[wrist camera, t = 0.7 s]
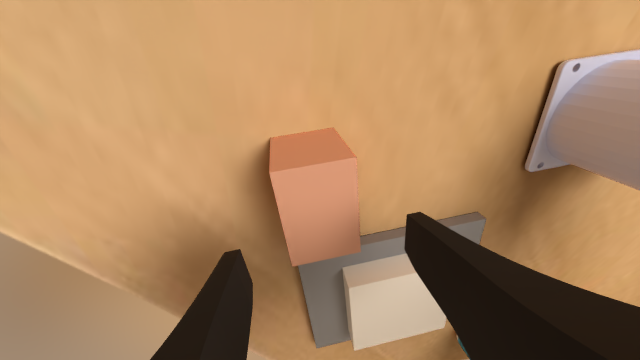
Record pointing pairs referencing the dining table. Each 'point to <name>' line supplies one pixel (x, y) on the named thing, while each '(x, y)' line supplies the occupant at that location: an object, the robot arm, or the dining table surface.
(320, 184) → the brick
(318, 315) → the tower base
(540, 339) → the robot arm
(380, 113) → the dining table surface
